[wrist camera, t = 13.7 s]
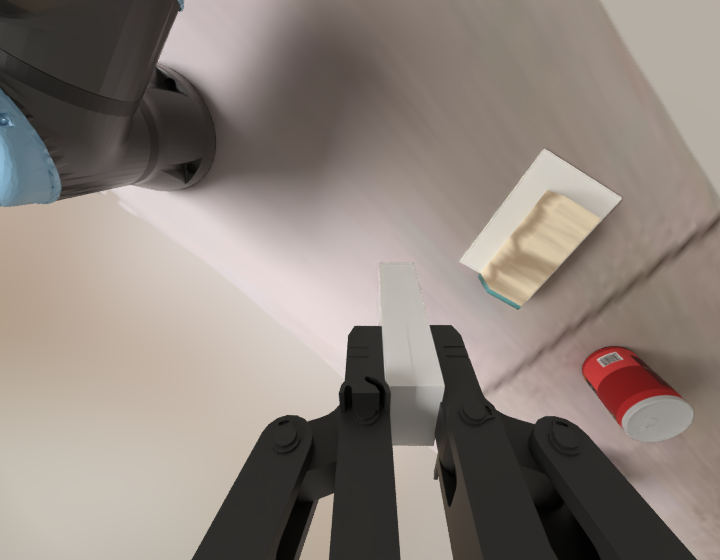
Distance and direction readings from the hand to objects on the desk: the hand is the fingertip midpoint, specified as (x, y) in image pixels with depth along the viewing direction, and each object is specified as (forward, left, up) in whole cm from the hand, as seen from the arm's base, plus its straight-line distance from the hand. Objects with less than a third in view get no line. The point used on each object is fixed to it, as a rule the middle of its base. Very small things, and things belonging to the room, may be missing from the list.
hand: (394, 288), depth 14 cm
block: (+14, -14, -28) cm, 34 cm away
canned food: (+34, -28, -31) cm, 54 cm away
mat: (+19, -6, -30) cm, 36 cm away
